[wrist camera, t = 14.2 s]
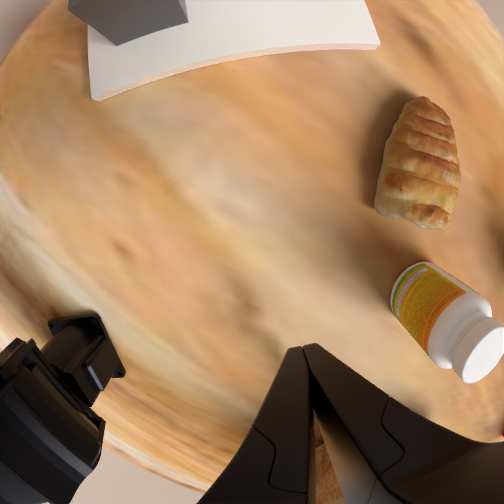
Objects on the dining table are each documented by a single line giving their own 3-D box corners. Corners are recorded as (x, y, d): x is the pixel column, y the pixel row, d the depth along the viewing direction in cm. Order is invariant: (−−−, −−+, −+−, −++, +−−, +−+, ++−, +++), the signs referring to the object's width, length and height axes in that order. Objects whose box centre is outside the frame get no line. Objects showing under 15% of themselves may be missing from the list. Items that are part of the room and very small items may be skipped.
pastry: (381, 89, 16) (407, 76, 13) (451, 117, 17) (481, 113, 13) (365, 214, 19) (389, 226, 15) (436, 229, 19) (465, 241, 16)
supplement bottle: (381, 320, 21) (437, 400, 12) (397, 257, 20) (477, 317, 10) (430, 319, 21) (491, 385, 12) (447, 262, 20) (526, 313, 11)
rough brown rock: (451, 432, 29) (496, 492, 14) (367, 493, 31) (392, 558, 16) (398, 365, 25) (478, 464, 10) (275, 453, 27) (292, 563, 12)
